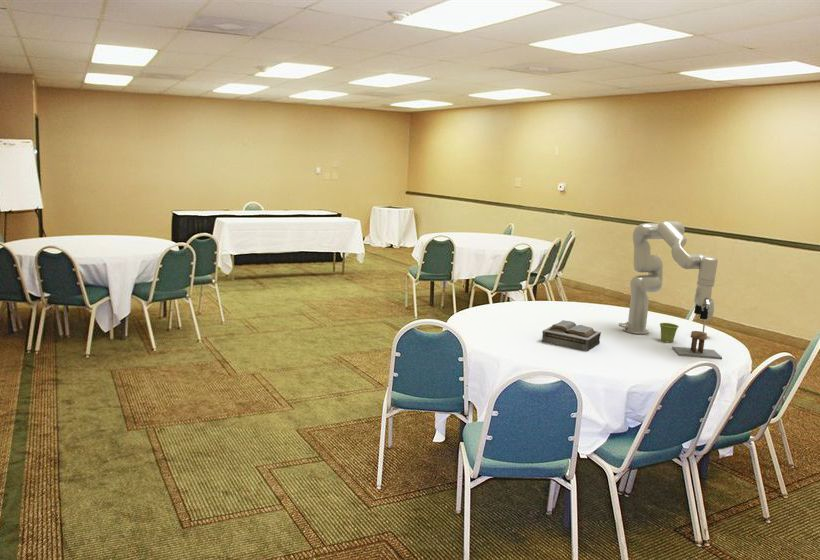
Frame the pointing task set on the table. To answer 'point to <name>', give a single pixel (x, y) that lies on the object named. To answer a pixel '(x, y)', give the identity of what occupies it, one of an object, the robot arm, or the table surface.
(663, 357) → the table surface
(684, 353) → the mat
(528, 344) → the table surface
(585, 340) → the bible
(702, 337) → the stool
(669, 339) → the plant pot
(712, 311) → the wineglass
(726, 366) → the table surface
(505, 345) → the table surface
